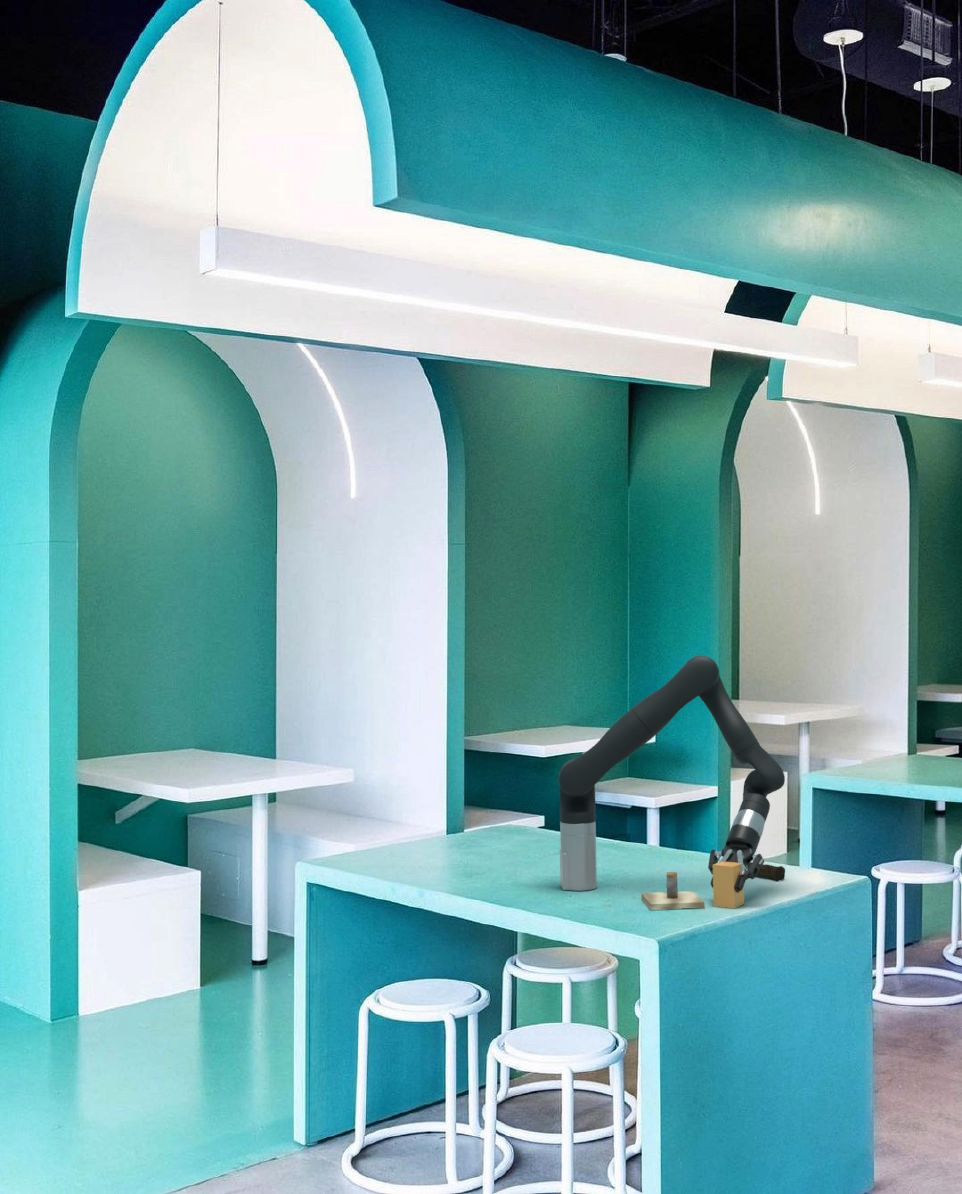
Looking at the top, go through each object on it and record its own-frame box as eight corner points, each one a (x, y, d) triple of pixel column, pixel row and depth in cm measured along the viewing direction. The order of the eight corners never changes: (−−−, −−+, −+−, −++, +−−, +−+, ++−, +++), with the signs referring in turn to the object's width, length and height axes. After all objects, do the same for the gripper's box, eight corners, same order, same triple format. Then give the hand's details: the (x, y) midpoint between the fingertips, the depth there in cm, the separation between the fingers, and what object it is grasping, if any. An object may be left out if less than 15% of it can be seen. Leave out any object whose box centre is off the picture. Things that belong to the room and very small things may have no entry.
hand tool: (786, 880, 364) (786, 862, 364) (776, 882, 362) (776, 864, 362) (732, 871, 379) (732, 854, 379) (722, 873, 377) (722, 855, 377)
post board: (650, 910, 331) (650, 879, 331) (641, 899, 344) (640, 869, 344) (704, 908, 332) (703, 877, 332) (693, 897, 345) (692, 867, 345)
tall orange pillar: (713, 906, 334) (712, 864, 334) (724, 902, 338) (722, 861, 338) (734, 908, 331) (732, 866, 331) (744, 904, 335) (743, 863, 335)
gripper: (714, 821, 345) (693, 877, 335) (767, 825, 336) (747, 883, 327) (724, 839, 349) (703, 895, 339) (777, 844, 341) (757, 901, 331)
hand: (725, 889), depth 333 cm, fingers closed on tall orange pillar, 5 cm apart
